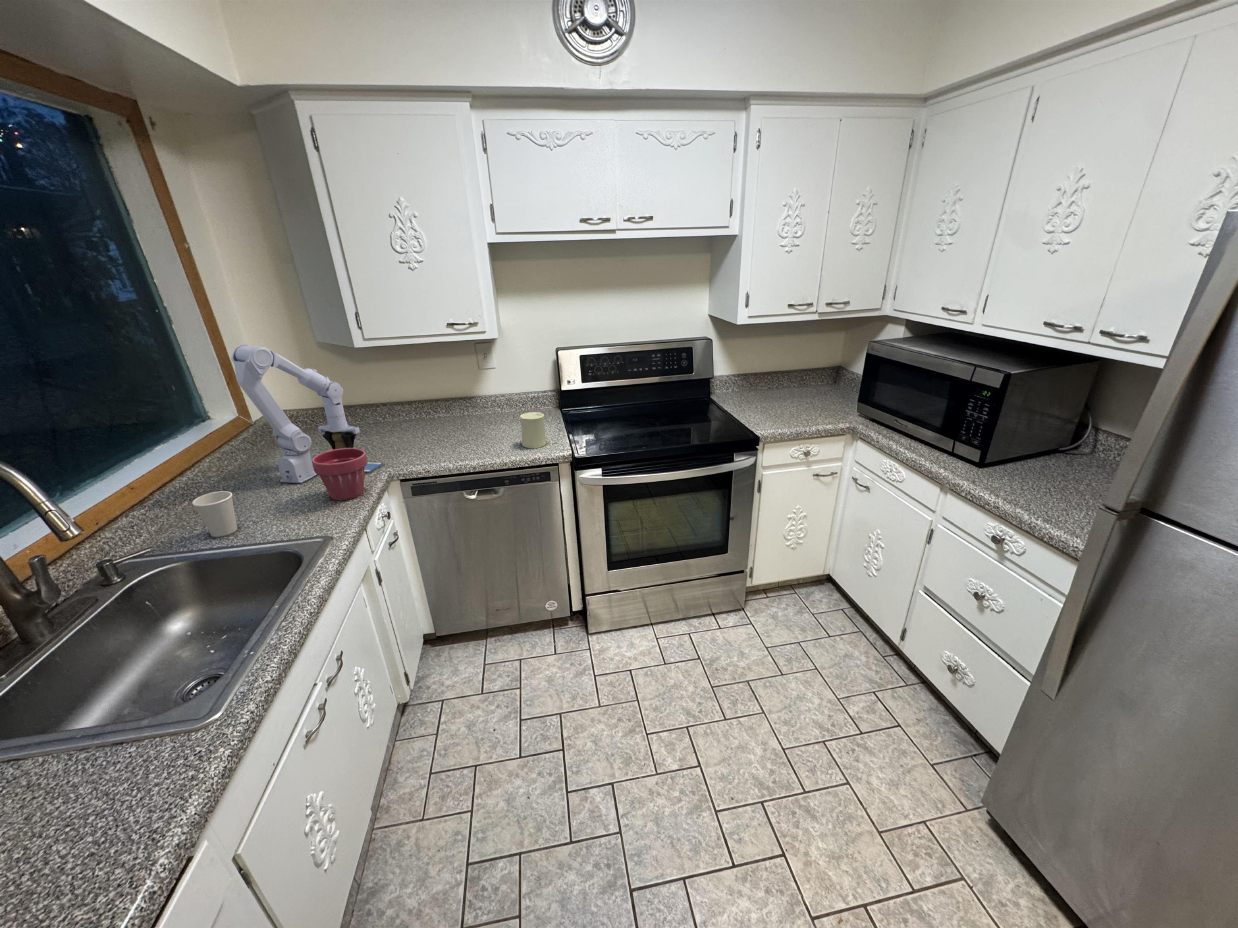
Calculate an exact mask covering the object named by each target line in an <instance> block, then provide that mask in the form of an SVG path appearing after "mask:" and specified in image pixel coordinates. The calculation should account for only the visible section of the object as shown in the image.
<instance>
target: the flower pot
mask: <svg viewBox="0 0 1238 928" xmlns="http://www.w3.org/2000/svg"><path fill="white" fill-rule="evenodd" d="M311 459H312V464H313V468H314V472H315V473H316V474H317V475H318V476H319V478H320V480H321V481H322V483H323V486H324V487H325V489H326V490H327V493H328V495H329V496H330V498H331V499H332V500H335V501H347V500H352V499H355V498H358V497H360V496H362V495H363V494H364V492H365V491H364V490H365V489H364V488H365V473H364V469H365V466H366V465H367V462H368V459H367V454H366V451H365V450H363V449H361V448H357V447H353V448H341V449H335V450H333V449H330V450H326V451H322V452H320V453H318V454H316V455H315V456H313V457H312V458H311Z"/></svg>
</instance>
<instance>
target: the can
mask: <svg viewBox="0 0 1238 928" xmlns="http://www.w3.org/2000/svg"><path fill="white" fill-rule="evenodd" d="M519 419H520V430H521V445H522V447H524V448H527V449H537V448H542V447H544V446H546V445H547V441H546V439H547V438H546V429H545V428H546V427H545V414H544V413H542V412H538V411H530V412H529V411H528V412H524V413H522V414H520V415H519Z"/></svg>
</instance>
